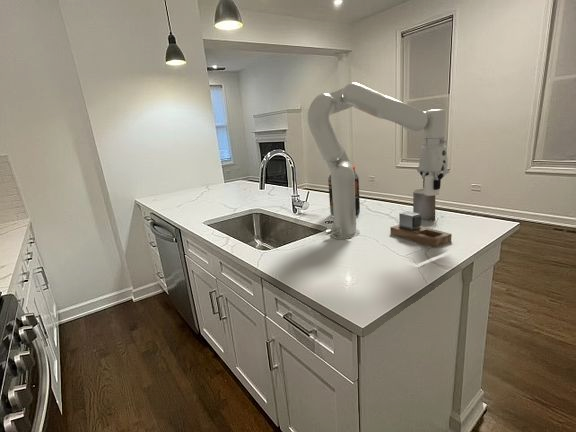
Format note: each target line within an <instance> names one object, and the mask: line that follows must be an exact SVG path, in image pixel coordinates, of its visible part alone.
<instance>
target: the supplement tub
mask: <svg viewBox="0 0 576 432" xmlns="http://www.w3.org/2000/svg"><path fill="white" fill-rule="evenodd" d="M352 167H353V170H354V175H355V209H356V217H358V216H359V215H360V213H361V205H360V204H361V203H360V179H359V175H358V173H356V167H355V165H352ZM327 181H328V182H327V183H328V195H329V196H328V197H329V212H330V215H331V216H332V217H334V215H333V199H332V185H331V174H330V175H329V176H328V179H327Z"/></svg>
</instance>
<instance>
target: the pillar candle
mask: <svg viewBox="0 0 576 432" xmlns="http://www.w3.org/2000/svg"><path fill="white" fill-rule="evenodd" d="M412 196H413V197H412V198H413V199H412V202H413V204H412V210H413V211H412V212H414V213H418V214H420V216H421V221H426V222H433V221H434V220H435V219H436V195H433V196H426V195H424V188H418V189H415V190H413V191H412Z"/></svg>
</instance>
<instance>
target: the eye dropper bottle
mask: <svg viewBox="0 0 576 432" xmlns="http://www.w3.org/2000/svg"><path fill="white" fill-rule="evenodd" d="M434 180H435V173H434V172H429V175H427V176H425V180H424V188H423V189H424V195H426V196H433V195H435V196H439V194H440V189H437V190H434V189H433V188H434Z"/></svg>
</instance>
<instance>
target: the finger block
mask: <svg viewBox="0 0 576 432" xmlns="http://www.w3.org/2000/svg"><path fill="white" fill-rule="evenodd" d="M398 220H399V222H398V223H399V224H398V225H399V228H402V229H406V230H409V231H415V230H418V229H420V226H422V220H421V216H420V214H418V213H414V212H413V211H408V210H406V211H403V212H399V218H398Z"/></svg>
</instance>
